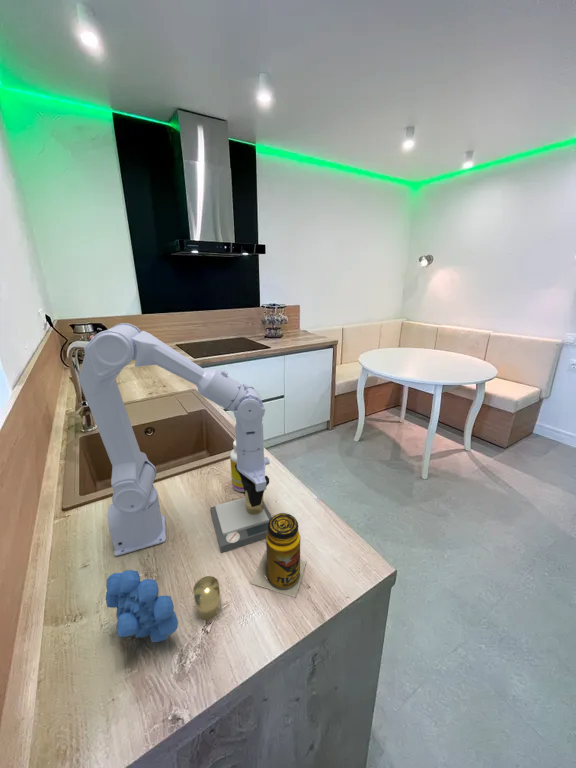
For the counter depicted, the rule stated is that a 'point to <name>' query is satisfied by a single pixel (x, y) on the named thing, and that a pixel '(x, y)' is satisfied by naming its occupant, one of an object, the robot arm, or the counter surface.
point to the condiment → (281, 557)
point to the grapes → (140, 607)
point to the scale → (238, 524)
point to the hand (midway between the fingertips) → (252, 498)
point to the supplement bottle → (235, 475)
